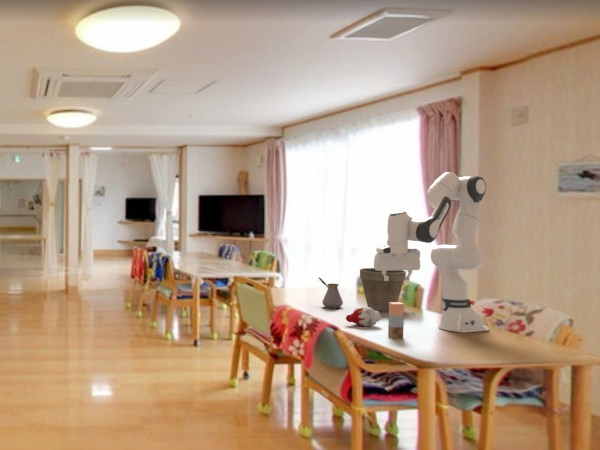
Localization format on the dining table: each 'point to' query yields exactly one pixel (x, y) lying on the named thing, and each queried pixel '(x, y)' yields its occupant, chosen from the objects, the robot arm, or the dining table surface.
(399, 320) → the block
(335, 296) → the coffee pot
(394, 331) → the tower base
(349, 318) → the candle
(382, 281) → the plant pot
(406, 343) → the dining table surface
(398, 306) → the terracotta block
